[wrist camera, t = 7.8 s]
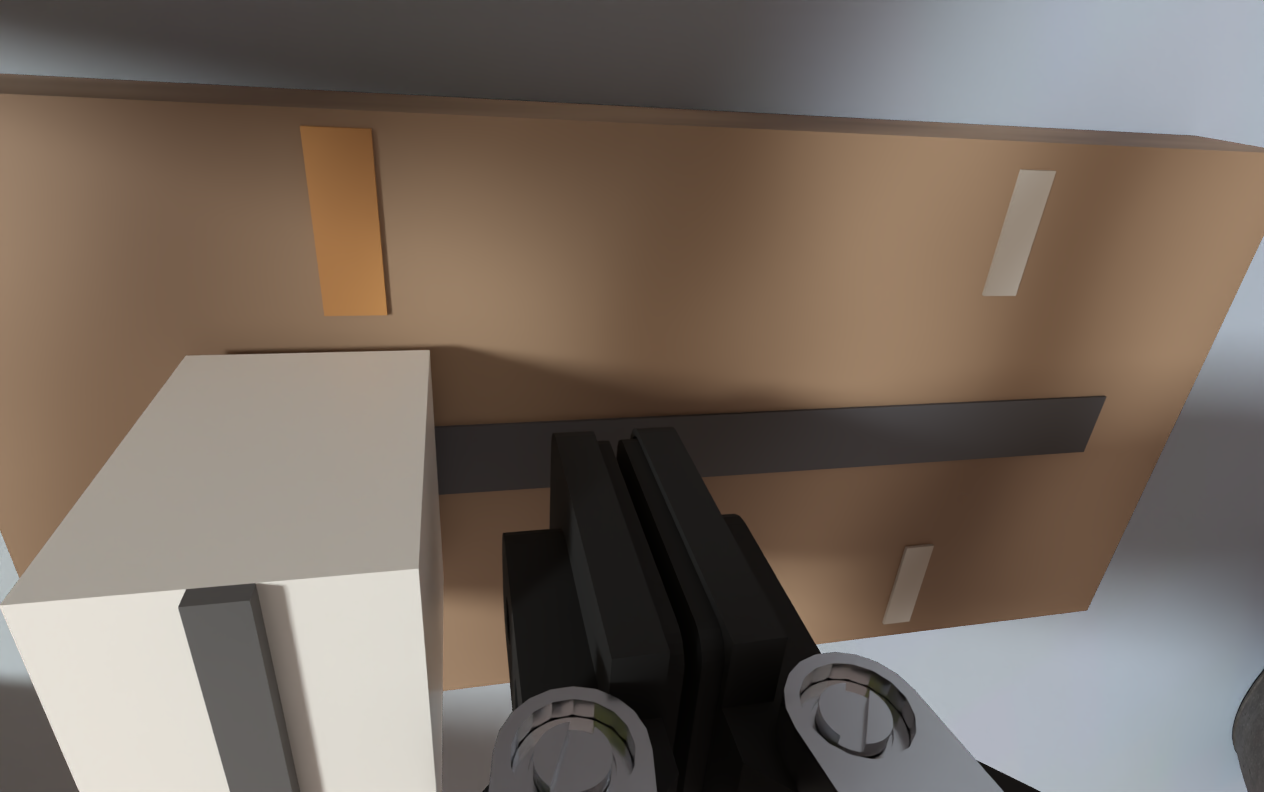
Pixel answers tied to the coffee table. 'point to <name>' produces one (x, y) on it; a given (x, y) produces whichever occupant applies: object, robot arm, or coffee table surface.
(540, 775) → the robot arm
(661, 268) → the fader console
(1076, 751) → the coffee table surface
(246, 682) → the fader
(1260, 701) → the planter
